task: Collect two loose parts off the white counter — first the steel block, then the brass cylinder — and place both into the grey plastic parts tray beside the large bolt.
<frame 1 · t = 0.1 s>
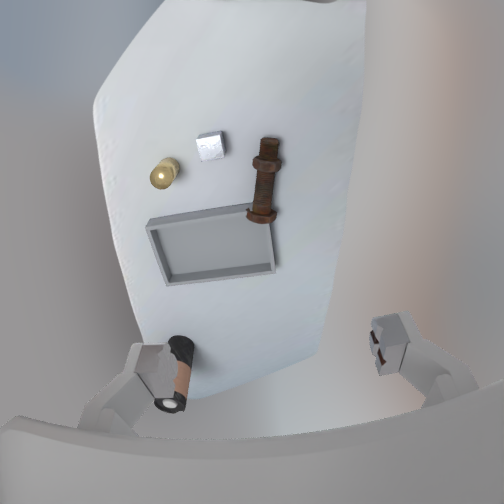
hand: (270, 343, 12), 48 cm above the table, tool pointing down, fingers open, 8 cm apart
parts tray: (213, 241, 65), on the table
travel mug: (181, 343, 83), on the table
steel block: (212, 143, 54), on the table
bolt: (265, 175, 57), on the table, touching parts tray
brass cylinder: (169, 167, 57), on the table
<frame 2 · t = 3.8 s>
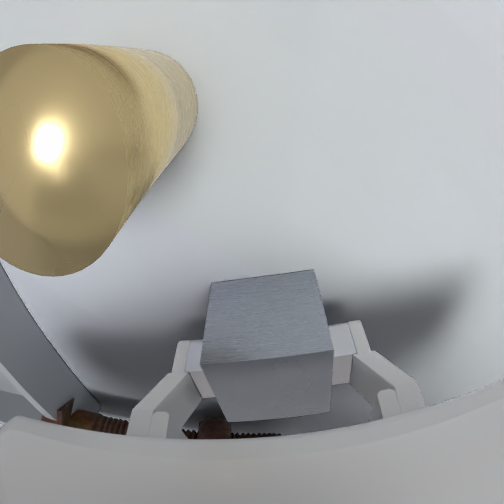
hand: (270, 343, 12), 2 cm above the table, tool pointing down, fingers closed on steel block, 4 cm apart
steel block: (268, 313, 13), on the table, touching gripper
bolt: (169, 417, 18), on the table, touching parts tray
brass cylinder: (136, 109, 9), on the table
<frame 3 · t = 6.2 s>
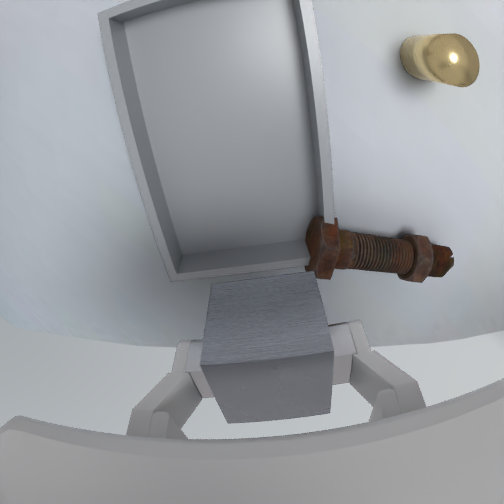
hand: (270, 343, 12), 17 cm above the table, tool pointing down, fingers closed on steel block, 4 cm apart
parts tray: (228, 127, 24), on the table
steel block: (268, 314, 13), point 16 cm above the table, touching gripper
bolt: (378, 241, 29), on the table, touching parts tray
brass cylinder: (420, 57, 20), on the table
when the fingers open (4 cm above the table, at t = 9.0 s): steel block drops 2 cm, resting on parts tray.
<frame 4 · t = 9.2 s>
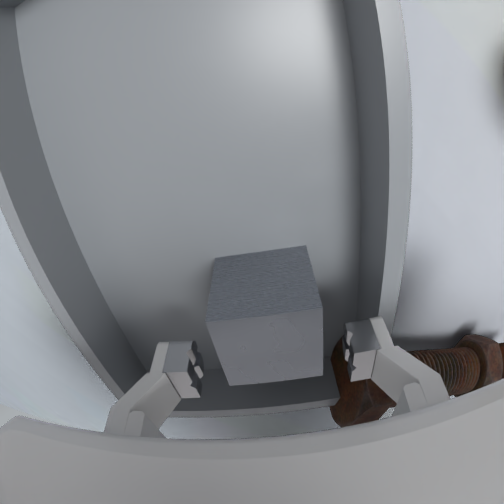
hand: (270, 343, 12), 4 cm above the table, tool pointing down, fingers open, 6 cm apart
parts tray: (201, 189, 13), on the table
steel block: (266, 287, 15), point 1 cm above the table, touching parts tray
bolt: (431, 346, 18), on the table, touching parts tray
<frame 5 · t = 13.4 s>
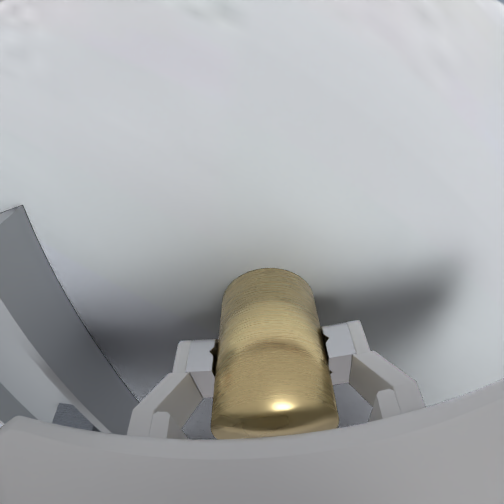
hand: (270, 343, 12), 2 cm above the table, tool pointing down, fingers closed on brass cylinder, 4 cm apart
parts tray: (40, 373, 18), on the table
steel block: (91, 418, 20), point 1 cm above the table, touching parts tray
brass cylinder: (268, 305, 14), on the table, touching gripper
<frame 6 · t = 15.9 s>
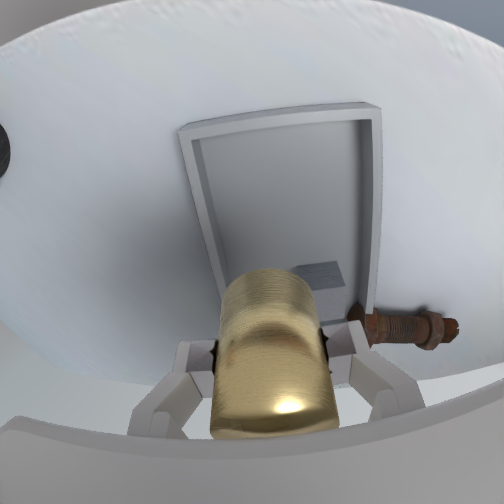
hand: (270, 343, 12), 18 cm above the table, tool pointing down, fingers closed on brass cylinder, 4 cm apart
parts tray: (292, 235, 30), on the table
steel block: (317, 279, 32), point 1 cm above the table, touching parts tray
bolt: (402, 316, 35), on the table, touching parts tray
brass cylinder: (268, 306, 14), point 15 cm above the table, touching gripper
when the fingers open (5 cm above the table, at t = 18.6 s): brass cylinder drops 2 cm, resting on parts tray.
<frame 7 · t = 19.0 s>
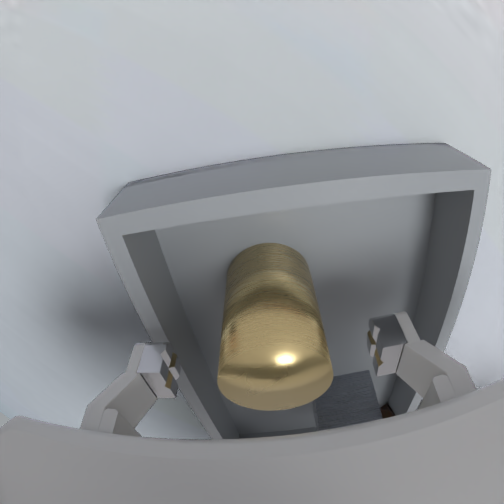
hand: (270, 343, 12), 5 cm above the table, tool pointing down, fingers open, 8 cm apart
parts tray: (309, 345, 19), on the table
steel block: (339, 389, 21), point 1 cm above the table, touching parts tray
brass cylinder: (268, 278, 15), point 1 cm above the table, touching parts tray
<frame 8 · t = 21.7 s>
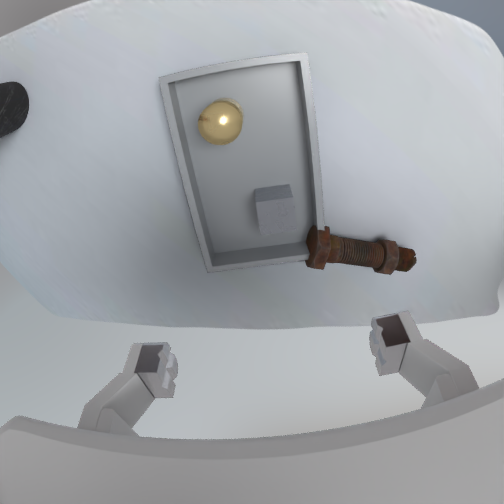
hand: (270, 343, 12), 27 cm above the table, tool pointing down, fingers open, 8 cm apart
parts tray: (250, 162, 35), on the table
travel mug: (12, 105, 30), on the table
steel block: (274, 201, 37), point 1 cm above the table, touching parts tray
bolt: (359, 244, 41), on the table, touching parts tray
brass cylinder: (225, 115, 32), point 1 cm above the table, touching parts tray
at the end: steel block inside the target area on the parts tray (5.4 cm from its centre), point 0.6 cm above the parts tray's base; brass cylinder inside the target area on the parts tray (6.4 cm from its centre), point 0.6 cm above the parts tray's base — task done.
